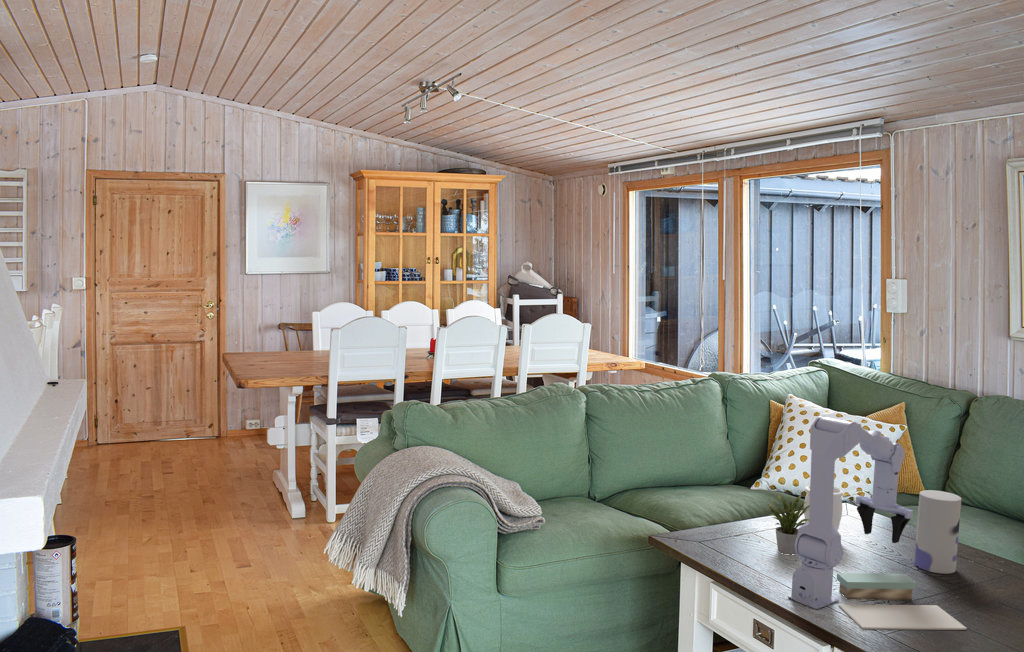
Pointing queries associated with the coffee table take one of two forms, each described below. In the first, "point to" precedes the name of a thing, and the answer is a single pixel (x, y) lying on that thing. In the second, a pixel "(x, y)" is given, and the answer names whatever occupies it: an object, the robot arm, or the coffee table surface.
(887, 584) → the lid
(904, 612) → the mat
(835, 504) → the white vase
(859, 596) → the pencil box
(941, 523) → the container
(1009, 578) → the coffee table surface
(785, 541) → the house plant
